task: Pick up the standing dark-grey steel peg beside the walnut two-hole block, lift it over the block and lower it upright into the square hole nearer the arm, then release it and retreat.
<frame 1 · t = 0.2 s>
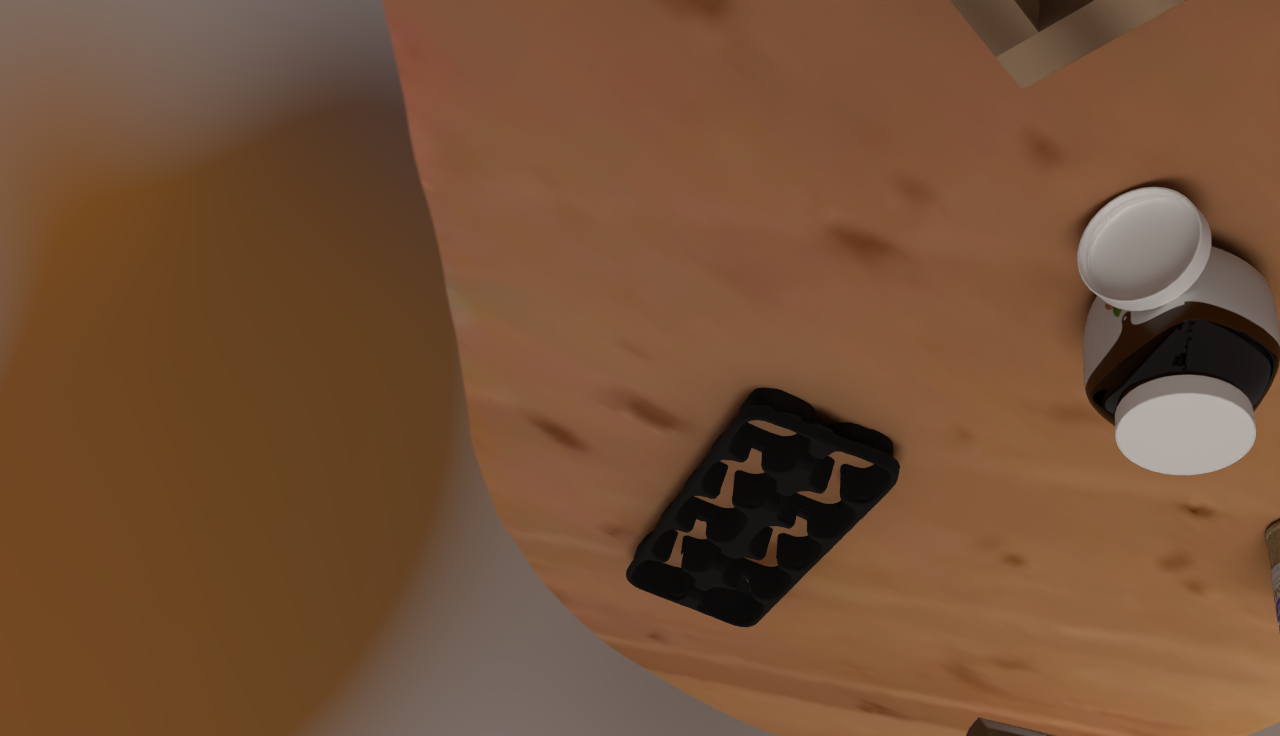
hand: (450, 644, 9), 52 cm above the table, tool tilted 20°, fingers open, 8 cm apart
spread jar: (1157, 259, 69), on the table
egg carton: (755, 496, 97), on the table
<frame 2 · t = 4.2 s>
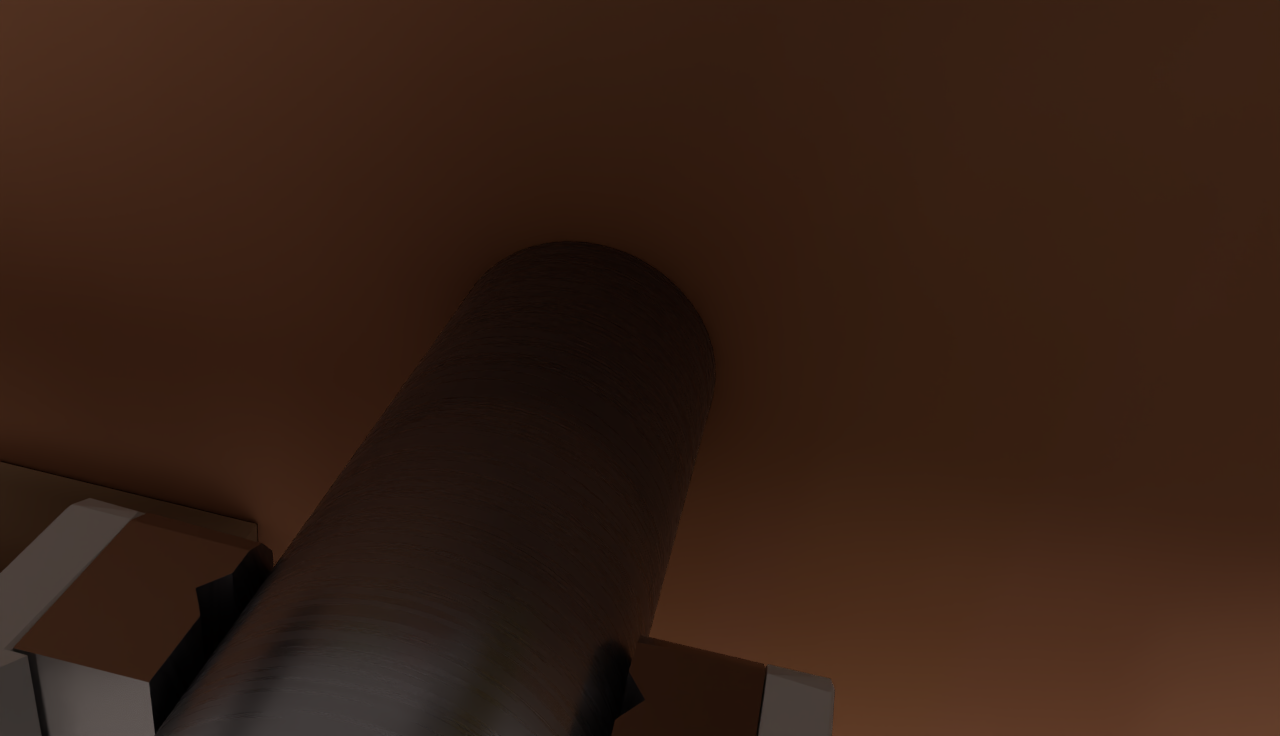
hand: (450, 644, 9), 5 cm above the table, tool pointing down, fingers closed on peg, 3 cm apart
peg: (583, 364, 13), on the table, touching gripper
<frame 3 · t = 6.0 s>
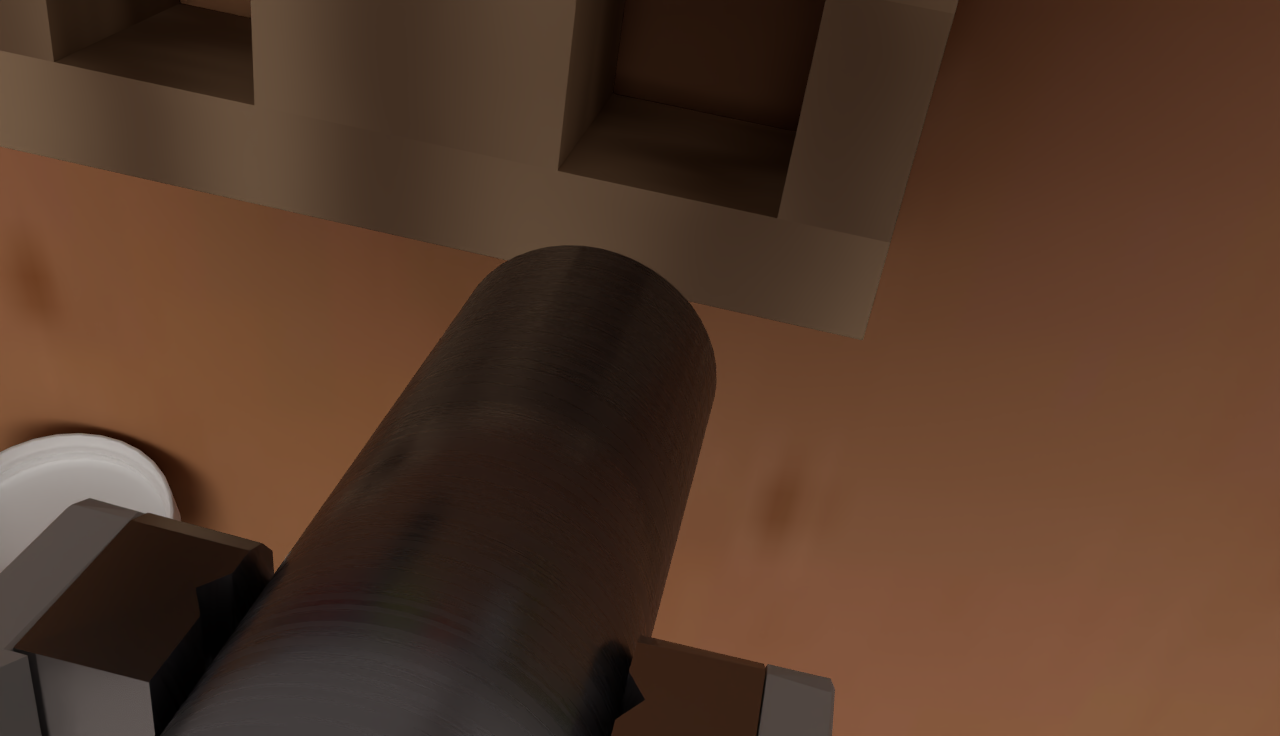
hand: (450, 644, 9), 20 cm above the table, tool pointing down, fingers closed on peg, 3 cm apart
spread jar: (107, 557, 40), on the table
peg: (584, 367, 13), point 16 cm above the table, touching gripper
when the fingers open (6 cm above the table, at t = 8.2 s): peg drops 2 cm, resting in block.
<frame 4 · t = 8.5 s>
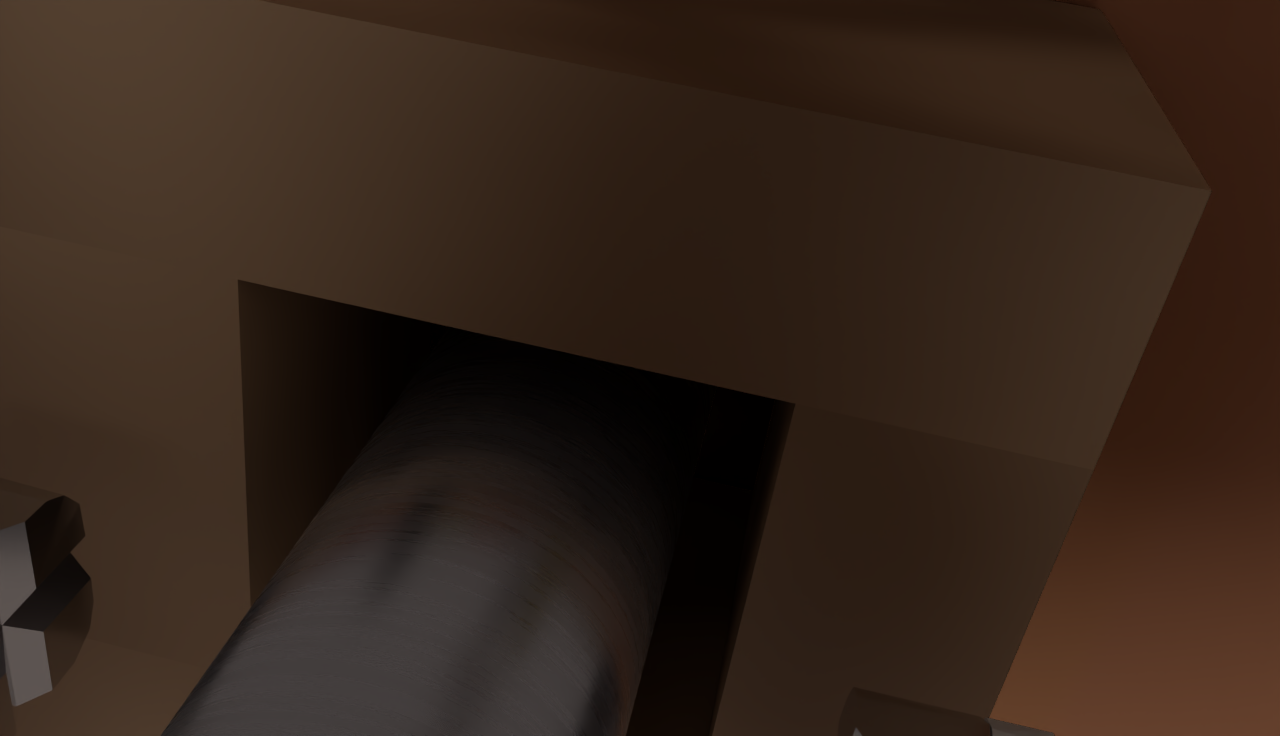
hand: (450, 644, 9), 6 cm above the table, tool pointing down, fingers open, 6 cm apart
block: (190, 214, 15), on the table
peg: (612, 307, 15), resting in block
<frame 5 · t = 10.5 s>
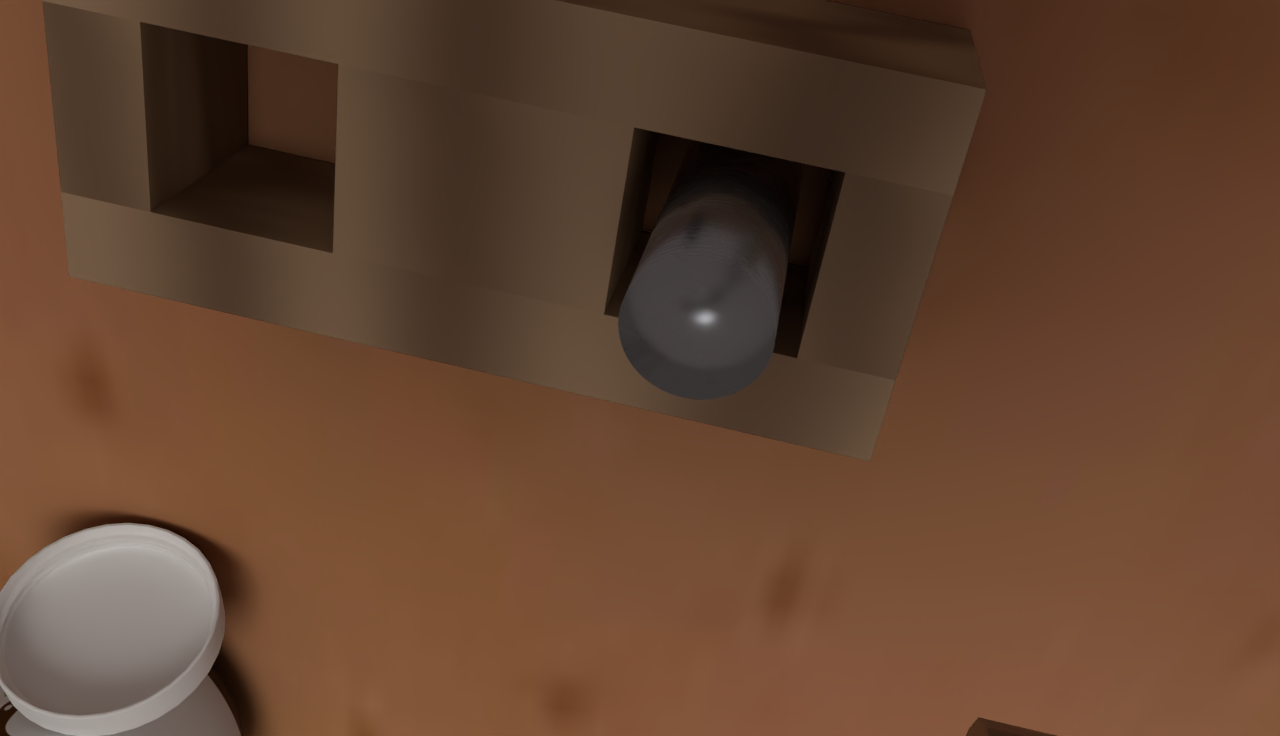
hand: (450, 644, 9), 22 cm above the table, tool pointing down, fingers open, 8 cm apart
block: (532, 125, 31), on the table
spread jar: (144, 635, 43), on the table
peg: (743, 170, 30), resting in block
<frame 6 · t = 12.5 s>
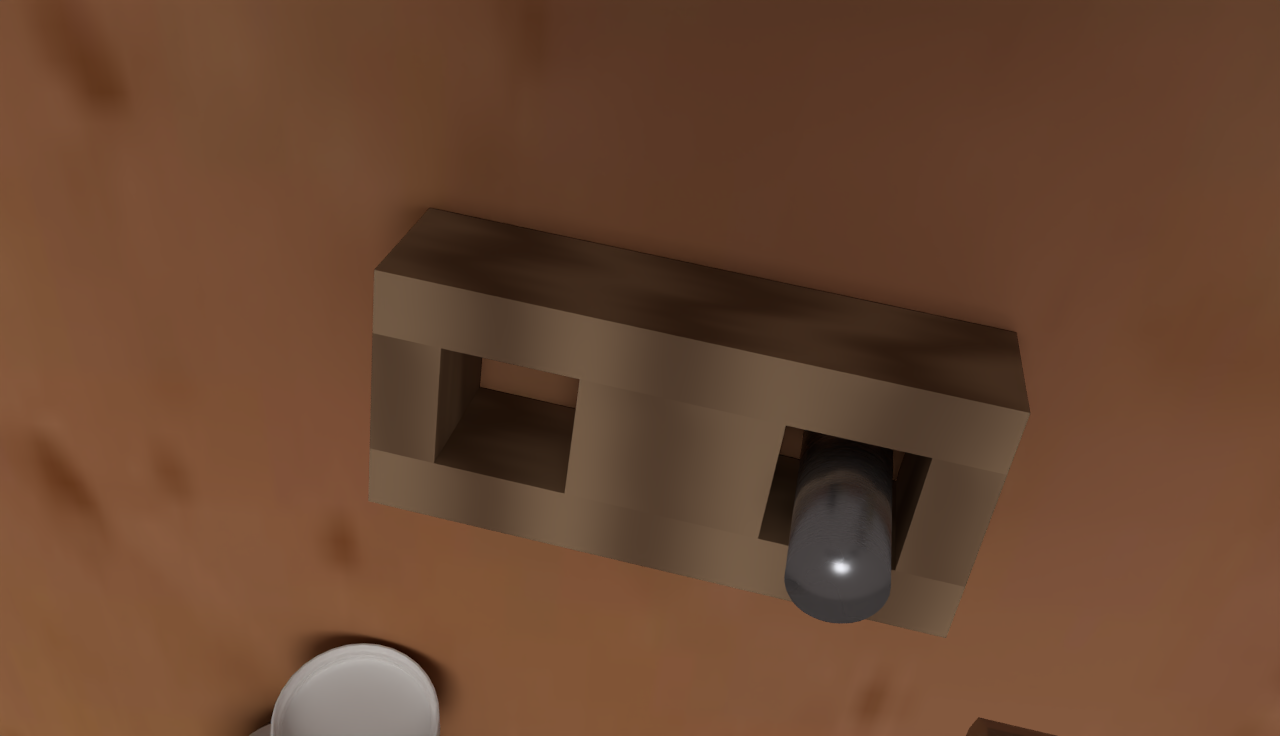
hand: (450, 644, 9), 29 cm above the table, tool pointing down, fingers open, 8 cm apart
block: (694, 381, 42), on the table
spread jar: (363, 722, 55), on the table
peg: (849, 416, 41), resting in block
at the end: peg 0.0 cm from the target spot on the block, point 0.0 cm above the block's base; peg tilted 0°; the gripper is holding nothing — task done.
